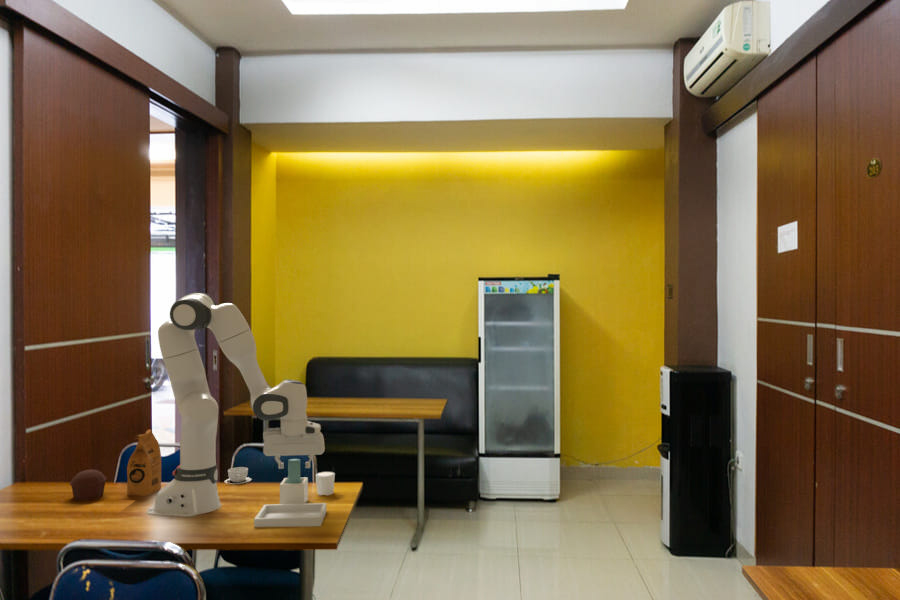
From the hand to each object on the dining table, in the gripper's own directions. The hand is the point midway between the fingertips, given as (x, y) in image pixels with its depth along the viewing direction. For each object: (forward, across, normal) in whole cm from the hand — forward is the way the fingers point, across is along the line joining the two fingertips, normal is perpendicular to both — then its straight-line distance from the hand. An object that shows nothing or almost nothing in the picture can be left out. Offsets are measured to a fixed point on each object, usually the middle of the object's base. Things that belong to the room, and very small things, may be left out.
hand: (294, 467), depth 217 cm
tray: (+12, +2, -16) cm, 20 cm away
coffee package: (+12, -57, +17) cm, 60 cm away
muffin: (+12, -73, +11) cm, 75 cm away
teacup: (+13, -27, +30) cm, 42 cm away
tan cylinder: (+13, +9, +12) cm, 20 cm away
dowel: (+11, 0, 0) cm, 11 cm away
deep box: (+12, 0, 0) cm, 12 cm away
